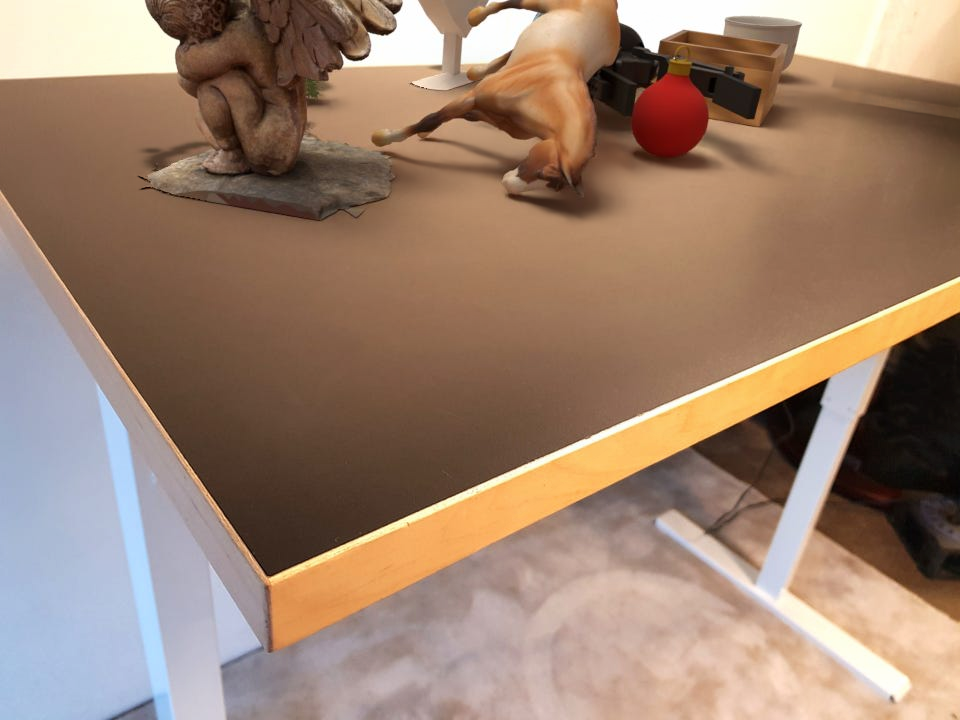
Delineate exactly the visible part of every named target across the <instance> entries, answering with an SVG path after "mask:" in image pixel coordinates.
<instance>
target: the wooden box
mask: <svg viewBox="0 0 960 720" xmlns="http://www.w3.org/2000/svg"><path fill="white" fill-rule="evenodd" d="M658 43H659V44H658V49H657V53H659V54H664V55H669V56H672V55H674V54H675V51H676V50H677V49H678V48H679V47H680V46H687V47H688V48H689V50H690V57H689V59H690V60H694V61H698V62H702V63H706V64H710V65H714V66H717V67H721V68H725V67H726V66H730V65H732V66H734V71H740V72H742V73H744V74H745V78H744V82H747V83H749V84H752V85H754V86H756V87H759V88H761V89H762V91H761V95H760V99H759V103H758V107H757V111H756V115H755V119H745V118H743V117H741V116H739V115H737V114H735V113H733V112H731V111H729V110H727V109H725V108H723V107H721V106H719V105H717V104H715V103H712V99H711V98H707V97H704V98H705V100H706V103H707V106H708V112H709V119H712V120H718V121H724V122H728V123H734V124H740V125H745V126H751V127H757V128H759V127H760V125H761V124H762V122H763V121H764V119H765V118H766V117H767V115H768V113H769V112H770V110H771V109H772V108H773V105H774V100H775V97H776V93H777V90H778V86H779V82H780V77H781V73H782V72H783V71H782V67H783V63H784V59H785V56H786V52H787V48H788V44H781V43H774V42H767V41H760V40H753V39H746V38H739V37H732V36H725V35H723V34H719V33H711V32H705V31H704V32H703V31H696V30H691V29H682V30H680V31H677V32H675V33H673V34H671V35H668V36H666V37H664V38H662V39H660V40H659V42H658ZM677 54H678V55H680V56H683V57H685V58H687V57H688V49H687V48H686V47H682V48H680V49H679V50H678V52H677ZM781 71H782V72H781ZM656 80H657V77H656V78H655V79H653V80H652V81H651V82H652V83H656Z"/></svg>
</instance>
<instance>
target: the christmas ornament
mask: <svg viewBox="0 0 960 720" xmlns="http://www.w3.org/2000/svg"><path fill="white" fill-rule="evenodd" d="M682 47H686V48H687V49H688V57H687V58H686V60H680V59H676V54H677V52H678V50H679V49H680V48H682ZM689 57H690V50H689V48H688V47H687V46H680V47H679V48H678V49H677V50H676V51H675V54H674V58H675V59H670V60H669V67H668V72H667V74H666V75H665V76H664V77H663V78H662V79H660V80H659V81H657V82H656V83H654V84H652V85H651V86H649V87H648V88H646V89H645V88H644V90H643V91H642V92H641V93H640V94H639V96H638V97H637V99H635V103H634V109H633V114H632V117H630V129H631V132H632V135H633V138H634V140H635V142H636V143H637V144H638V146H639V147H640V148H641V149H642V150H643V151H645V152H646V153H648V155H651V156H653V157H657V158H660V159H674V158H678V157H681V156H683V155H686V154H687V153H689V152H691V151H692V150H693V149H695V148H696V147H697V146H698V145H699V144H700V142H701V141H702V139H703V137H704V136H705V134H706V132H707V129H708V125H709V119H710V118H709V112H708V106H707V103H706V100H705V98H704V96H703V95H702V93H701V92H700V91H699V90H698V89H697V88H696V87H695V86H694V85H693V83H692V82H691V80H690V78H689V74H690V69H691V65H692V62H690V61H687V60H688V59H689Z"/></svg>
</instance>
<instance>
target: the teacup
mask: <svg viewBox="0 0 960 720" xmlns="http://www.w3.org/2000/svg"><path fill="white" fill-rule="evenodd" d="M802 26H803V23H802V22H801V21H799V20H794V19H789V18H783V17H774V16H760V15H759V16H757V15H732V16H726V17H725V18H724V29H723V32H722V33H723V34H722V35H725V36H732V37H739V38H746V39H753V40H760V41H767V42H774V43H781V44H788V48H787V52H786V56H785V59H784V63H783V67H782V71H781V73H782V72H783V71H785V70H786V69H788V68H789V66H790V65H791V63H792V61H793V58H794V55H795V52H796V48H797V44H798V40H799V34H800V31H801V28H802Z"/></svg>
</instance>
